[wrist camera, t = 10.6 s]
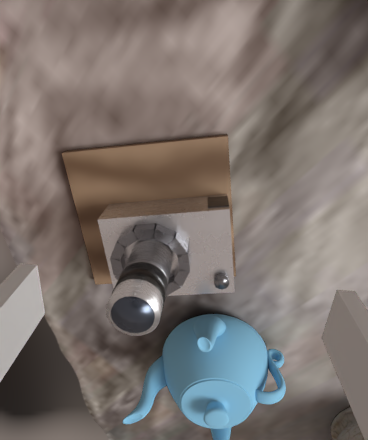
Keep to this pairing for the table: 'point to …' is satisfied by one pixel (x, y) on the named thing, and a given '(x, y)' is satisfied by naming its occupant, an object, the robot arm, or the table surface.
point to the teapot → (213, 373)
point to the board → (143, 181)
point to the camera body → (175, 240)
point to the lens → (141, 289)
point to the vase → (346, 426)
